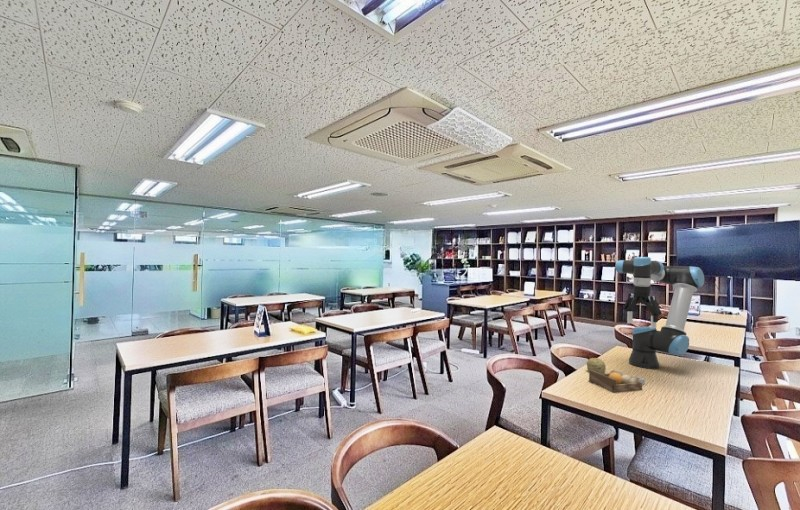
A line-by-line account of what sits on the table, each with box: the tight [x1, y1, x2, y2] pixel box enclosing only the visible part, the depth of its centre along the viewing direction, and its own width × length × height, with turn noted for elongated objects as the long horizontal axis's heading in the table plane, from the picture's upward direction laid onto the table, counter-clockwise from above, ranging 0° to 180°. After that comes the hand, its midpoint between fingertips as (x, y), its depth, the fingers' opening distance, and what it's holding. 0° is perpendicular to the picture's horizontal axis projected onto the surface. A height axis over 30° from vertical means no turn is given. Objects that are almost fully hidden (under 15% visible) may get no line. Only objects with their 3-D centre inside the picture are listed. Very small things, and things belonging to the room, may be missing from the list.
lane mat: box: [588, 380, 635, 393], centre depth 175 cm, size 17×15×1 cm
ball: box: [609, 373, 622, 385], centre depth 175 cm, size 6×6×6 cm
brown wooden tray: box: [588, 369, 643, 394], centre depth 175 cm, size 17×15×6 cm
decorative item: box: [586, 357, 607, 374], centre depth 195 cm, size 10×10×10 cm
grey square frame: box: [633, 376, 645, 385], centre depth 179 cm, size 4×4×2 cm
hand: (641, 325), depth 185 cm, fingers open, 13 cm apart
